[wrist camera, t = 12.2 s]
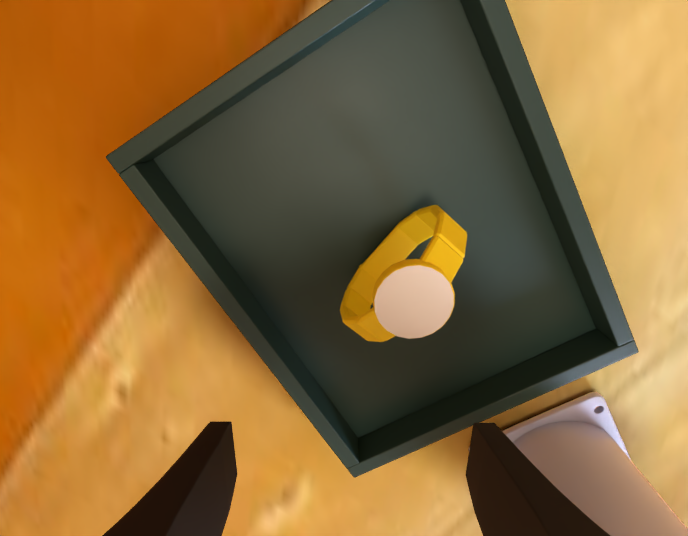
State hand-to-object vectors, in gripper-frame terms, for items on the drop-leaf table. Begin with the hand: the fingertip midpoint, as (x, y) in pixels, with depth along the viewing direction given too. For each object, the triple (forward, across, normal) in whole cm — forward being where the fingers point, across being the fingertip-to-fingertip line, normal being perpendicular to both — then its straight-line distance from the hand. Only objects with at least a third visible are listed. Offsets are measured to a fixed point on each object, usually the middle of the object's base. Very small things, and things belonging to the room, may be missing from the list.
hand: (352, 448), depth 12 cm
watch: (+9, -2, -3) cm, 10 cm away
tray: (+9, -2, -3) cm, 10 cm away
